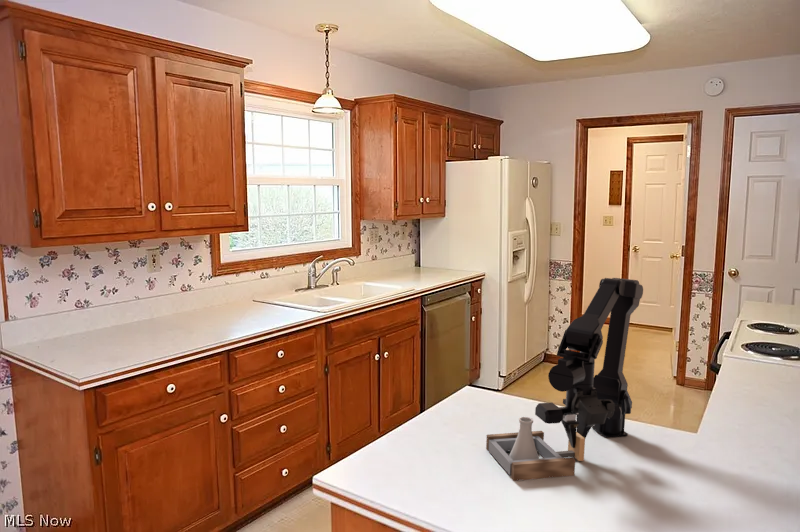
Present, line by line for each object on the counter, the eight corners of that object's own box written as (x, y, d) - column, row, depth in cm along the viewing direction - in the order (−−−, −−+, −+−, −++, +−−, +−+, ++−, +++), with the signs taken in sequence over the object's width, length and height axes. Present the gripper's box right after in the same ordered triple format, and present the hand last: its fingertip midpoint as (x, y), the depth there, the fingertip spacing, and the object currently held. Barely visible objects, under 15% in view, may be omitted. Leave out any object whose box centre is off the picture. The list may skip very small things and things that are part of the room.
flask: (503, 464, 128) (505, 421, 127) (513, 452, 135) (514, 411, 134) (535, 472, 125) (538, 428, 124) (544, 459, 131) (546, 417, 130)
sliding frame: (564, 444, 139) (565, 423, 138) (592, 468, 127) (594, 445, 126) (488, 450, 135) (489, 428, 134) (509, 475, 123) (510, 451, 122)
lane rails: (540, 444, 139) (541, 430, 139) (574, 475, 124) (575, 459, 124) (486, 448, 136) (486, 434, 136) (513, 480, 121) (514, 464, 121)
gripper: (559, 394, 121) (555, 466, 123) (638, 390, 125) (633, 459, 127) (535, 378, 132) (532, 444, 133) (609, 375, 136) (605, 438, 137)
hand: (576, 447), depth 132 cm, fingers closed on sliding frame
